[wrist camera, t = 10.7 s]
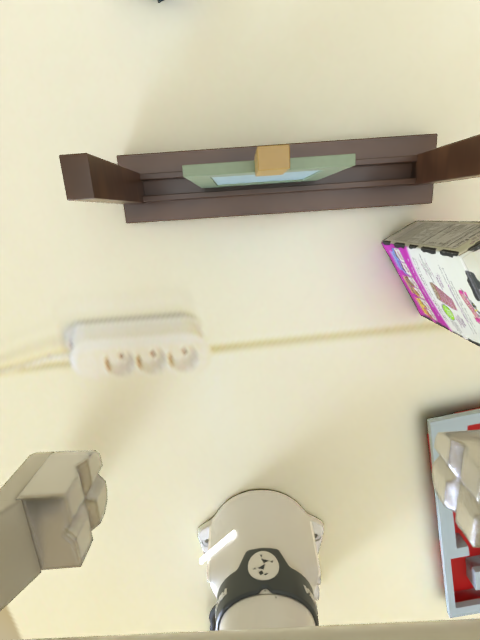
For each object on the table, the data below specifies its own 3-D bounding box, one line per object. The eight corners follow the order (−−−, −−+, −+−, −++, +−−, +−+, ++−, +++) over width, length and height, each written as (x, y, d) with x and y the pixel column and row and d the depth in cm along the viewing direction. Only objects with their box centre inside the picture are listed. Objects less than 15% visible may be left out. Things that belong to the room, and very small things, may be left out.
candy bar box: (456, 294, 46) (571, 338, 30) (420, 316, 46) (513, 369, 31) (417, 216, 43) (519, 219, 27) (378, 240, 44) (457, 257, 28)
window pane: (316, 183, 40) (375, 163, 23) (202, 191, 40) (174, 176, 23) (316, 170, 40) (375, 138, 22) (201, 177, 40) (171, 152, 22)
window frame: (423, 203, 43) (537, 198, 26) (131, 222, 43) (65, 229, 27) (428, 137, 41) (554, 87, 24) (122, 158, 41) (45, 123, 25)
